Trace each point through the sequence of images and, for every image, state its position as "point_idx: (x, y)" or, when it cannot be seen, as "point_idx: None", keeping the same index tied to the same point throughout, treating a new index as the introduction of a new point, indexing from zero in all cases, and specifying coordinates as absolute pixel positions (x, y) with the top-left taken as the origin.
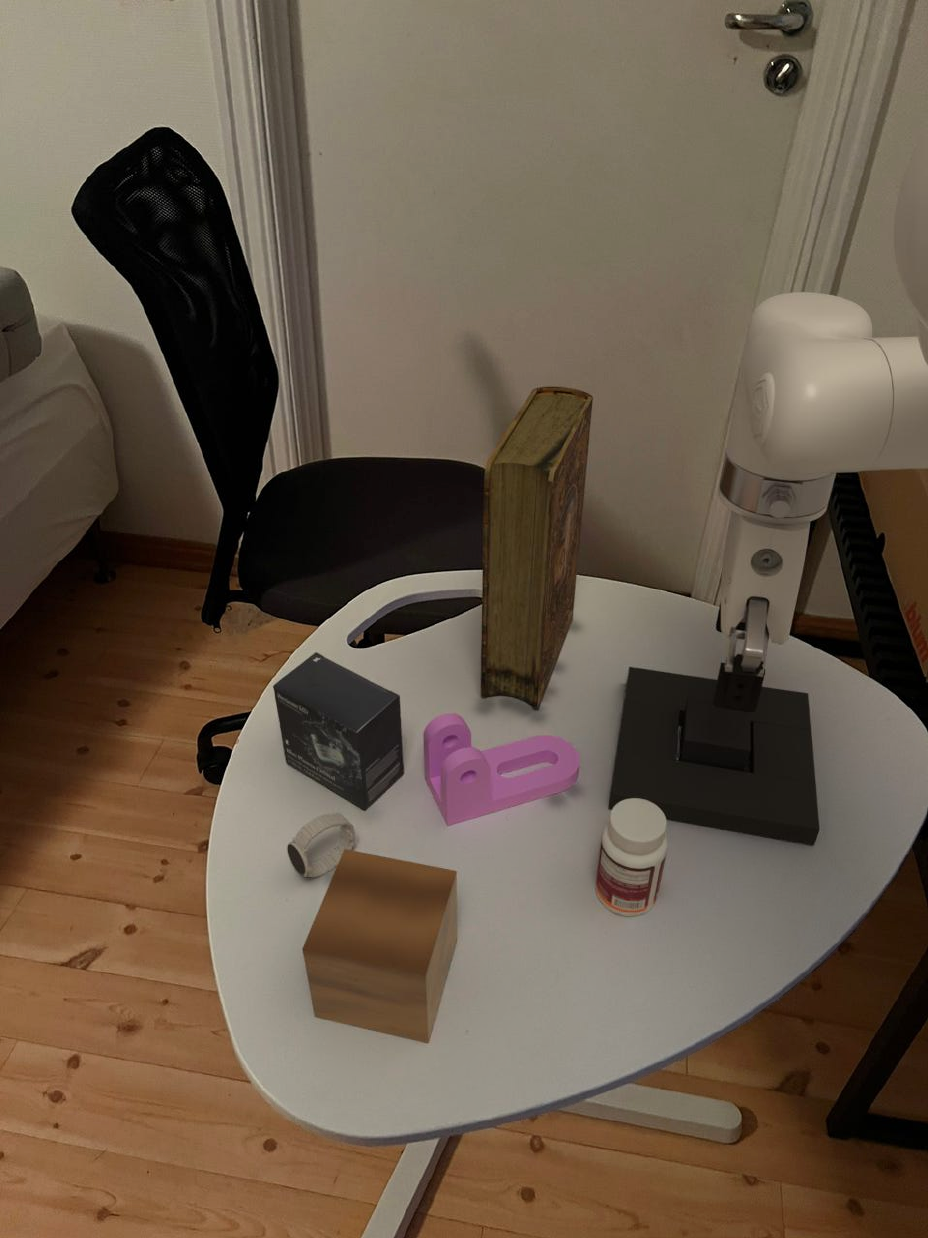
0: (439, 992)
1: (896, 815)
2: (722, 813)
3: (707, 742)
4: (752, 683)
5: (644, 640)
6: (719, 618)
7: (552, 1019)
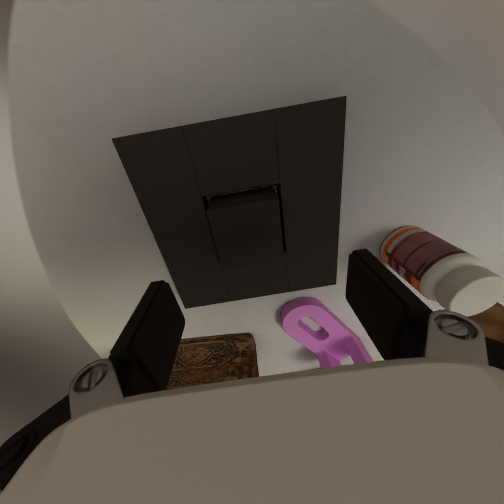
0: (485, 312)
1: None
2: (340, 202)
3: (281, 241)
4: (428, 307)
5: (126, 298)
6: (178, 343)
7: (492, 257)
